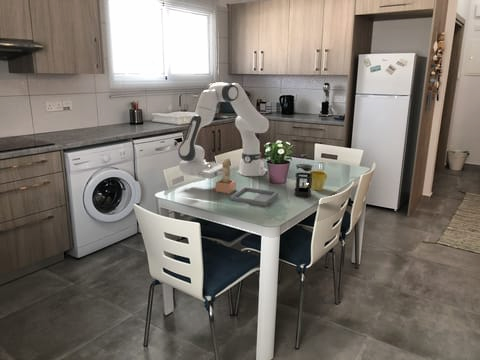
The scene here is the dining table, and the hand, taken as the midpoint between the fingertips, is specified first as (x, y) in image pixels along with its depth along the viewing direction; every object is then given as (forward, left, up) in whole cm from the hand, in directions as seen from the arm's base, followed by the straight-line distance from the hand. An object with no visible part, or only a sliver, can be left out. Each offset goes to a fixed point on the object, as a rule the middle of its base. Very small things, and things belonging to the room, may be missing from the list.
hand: (227, 172), depth 221 cm
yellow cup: (-30, +44, -11) cm, 55 cm away
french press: (-14, +40, -11) cm, 44 cm away
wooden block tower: (0, -1, -10) cm, 10 cm away
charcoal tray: (+4, +18, -11) cm, 22 cm away
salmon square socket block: (0, -1, -11) cm, 11 cm away
